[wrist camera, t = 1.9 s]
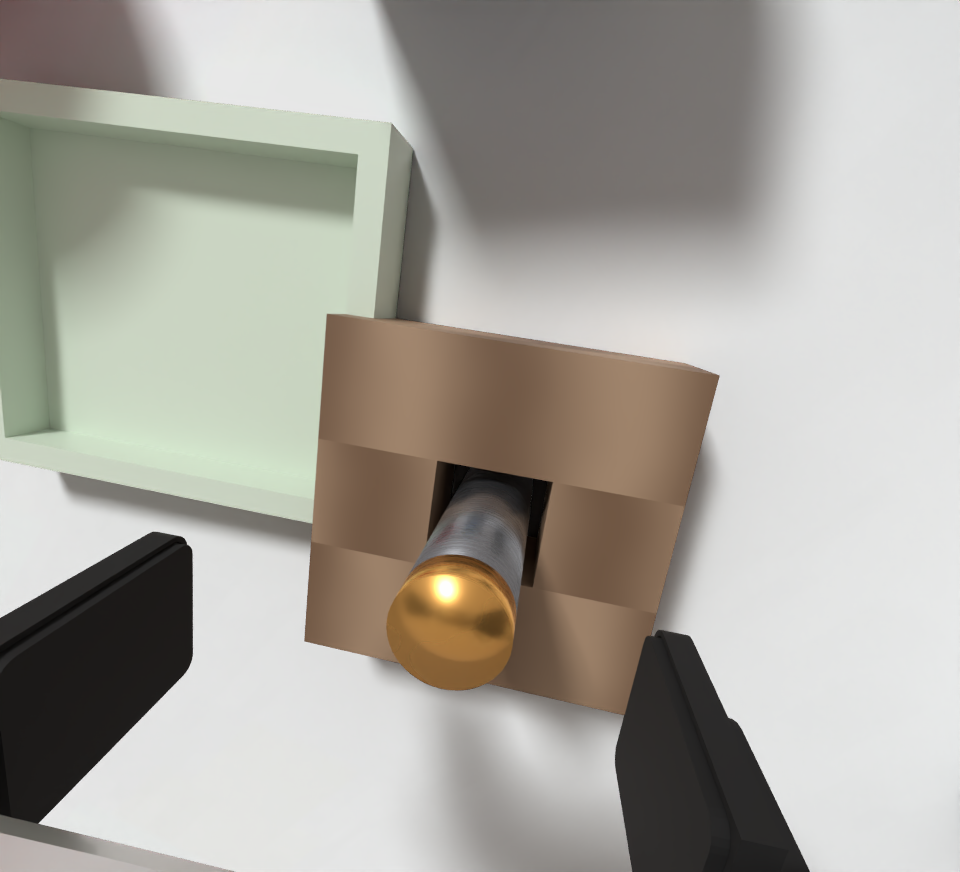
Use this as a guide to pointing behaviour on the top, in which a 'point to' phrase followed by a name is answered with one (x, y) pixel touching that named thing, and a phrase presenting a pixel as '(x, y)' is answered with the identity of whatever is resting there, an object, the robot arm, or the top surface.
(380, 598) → the block
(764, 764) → the top surface
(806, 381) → the top surface
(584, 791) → the top surface
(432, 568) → the pin
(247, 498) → the tray
